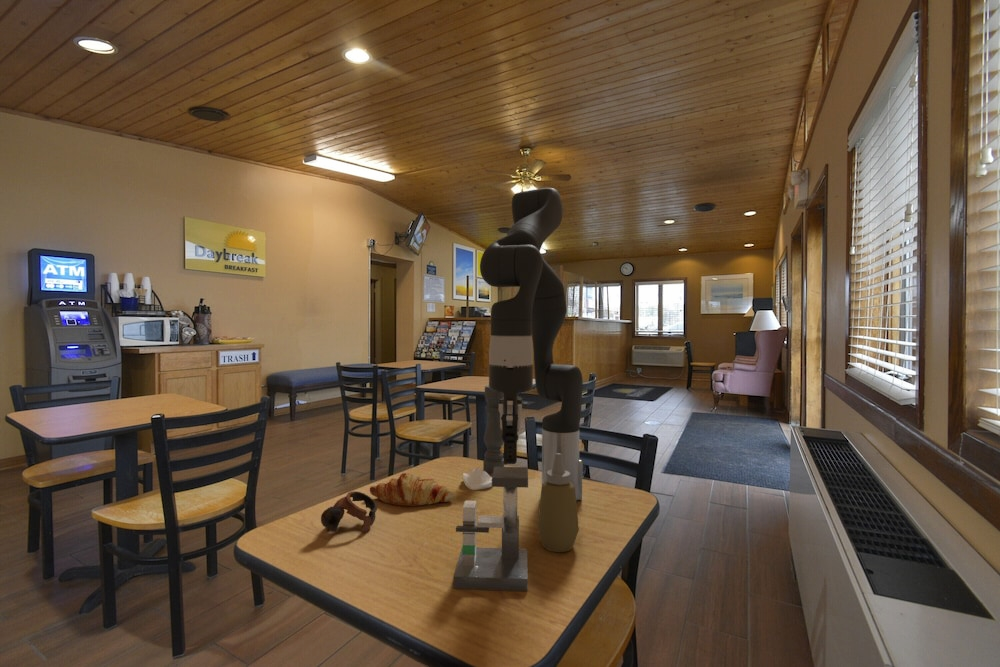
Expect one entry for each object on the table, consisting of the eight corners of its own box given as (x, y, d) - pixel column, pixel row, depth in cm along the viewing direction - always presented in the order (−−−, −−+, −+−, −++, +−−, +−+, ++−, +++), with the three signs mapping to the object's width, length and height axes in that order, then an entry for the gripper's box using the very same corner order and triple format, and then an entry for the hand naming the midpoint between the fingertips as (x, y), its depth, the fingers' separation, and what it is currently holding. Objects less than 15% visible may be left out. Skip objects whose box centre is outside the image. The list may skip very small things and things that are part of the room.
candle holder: (505, 467, 139) (505, 385, 138) (503, 474, 132) (503, 388, 132) (484, 467, 139) (485, 384, 139) (481, 473, 133) (482, 387, 133)
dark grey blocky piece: (527, 523, 82) (527, 467, 82) (527, 538, 76) (528, 478, 76) (480, 521, 83) (480, 466, 82) (477, 537, 77) (477, 477, 76)
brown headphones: (345, 517, 104) (363, 486, 104) (370, 546, 99) (389, 513, 99) (302, 523, 93) (322, 488, 93) (327, 555, 89) (349, 519, 88)
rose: (452, 468, 124) (477, 460, 132) (452, 484, 124) (477, 476, 132) (478, 476, 118) (503, 468, 125) (478, 494, 118) (503, 484, 125)
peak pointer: (489, 530, 78) (489, 526, 78) (488, 532, 77) (488, 529, 77) (456, 529, 78) (456, 525, 78) (455, 531, 77) (455, 528, 77)
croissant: (456, 511, 115) (459, 478, 118) (450, 507, 106) (453, 471, 109) (372, 507, 116) (378, 474, 120) (360, 502, 107) (366, 467, 111)
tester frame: (527, 559, 84) (527, 494, 84) (527, 591, 74) (527, 517, 74) (461, 557, 85) (462, 493, 85) (453, 588, 75) (454, 515, 75)
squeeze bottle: (552, 560, 84) (552, 462, 84) (529, 541, 91) (529, 451, 91) (587, 550, 88) (588, 456, 88) (562, 533, 95) (563, 446, 95)
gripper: (491, 359, 86) (491, 451, 86) (485, 365, 72) (485, 474, 73) (532, 359, 85) (531, 452, 86) (533, 365, 72) (532, 475, 72)
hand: (510, 462), depth 79 cm, fingers closed
